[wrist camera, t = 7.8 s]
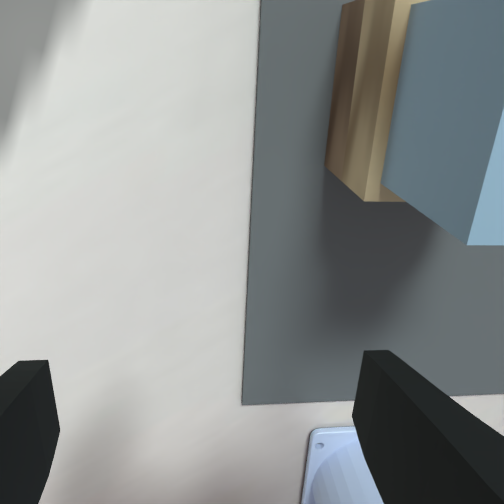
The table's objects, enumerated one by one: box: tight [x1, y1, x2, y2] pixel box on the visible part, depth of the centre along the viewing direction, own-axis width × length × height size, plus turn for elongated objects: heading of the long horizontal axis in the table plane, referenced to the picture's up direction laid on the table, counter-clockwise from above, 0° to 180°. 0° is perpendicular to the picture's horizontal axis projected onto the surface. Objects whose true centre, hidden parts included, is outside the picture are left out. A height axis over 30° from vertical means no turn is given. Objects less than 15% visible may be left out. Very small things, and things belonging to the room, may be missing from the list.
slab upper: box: [341, 0, 429, 202], centre depth 15 cm, size 6×6×2 cm
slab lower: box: [324, 0, 365, 180], centre depth 17 cm, size 6×6×2 cm
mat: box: [242, 0, 504, 405], centre depth 20 cm, size 24×22×1 cm
